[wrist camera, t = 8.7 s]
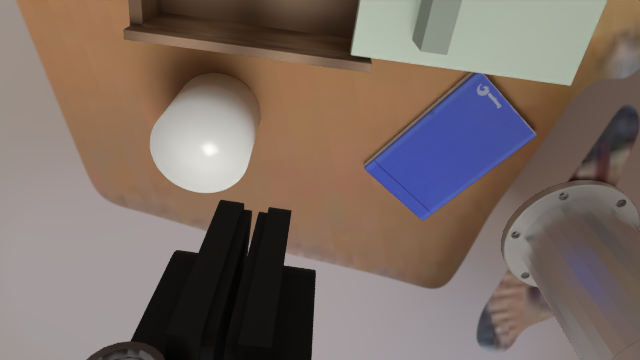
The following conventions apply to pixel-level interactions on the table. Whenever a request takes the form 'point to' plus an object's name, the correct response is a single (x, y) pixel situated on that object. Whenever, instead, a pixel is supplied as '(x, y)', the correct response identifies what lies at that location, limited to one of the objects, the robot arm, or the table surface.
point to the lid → (480, 35)
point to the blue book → (450, 145)
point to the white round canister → (207, 133)
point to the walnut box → (253, 28)
